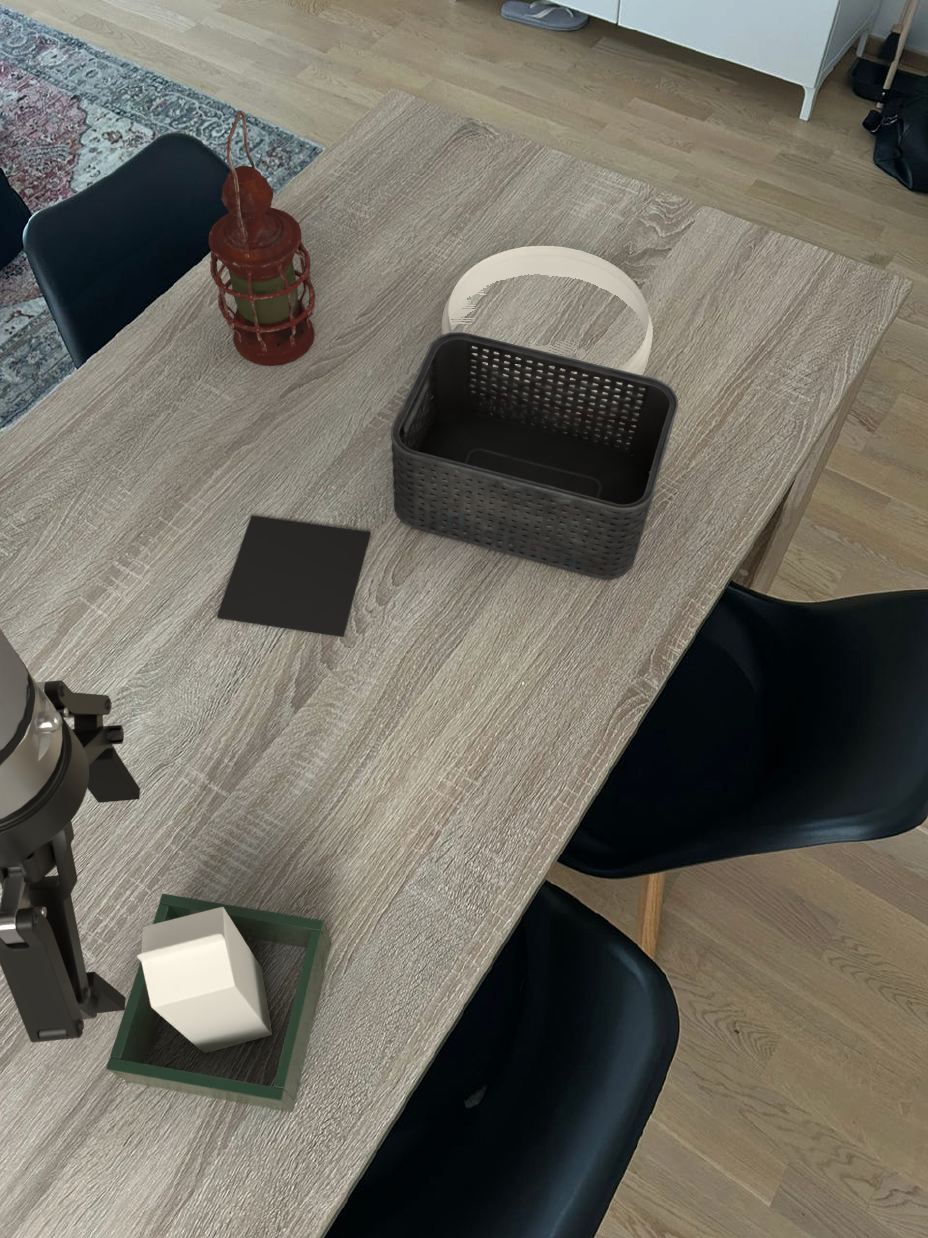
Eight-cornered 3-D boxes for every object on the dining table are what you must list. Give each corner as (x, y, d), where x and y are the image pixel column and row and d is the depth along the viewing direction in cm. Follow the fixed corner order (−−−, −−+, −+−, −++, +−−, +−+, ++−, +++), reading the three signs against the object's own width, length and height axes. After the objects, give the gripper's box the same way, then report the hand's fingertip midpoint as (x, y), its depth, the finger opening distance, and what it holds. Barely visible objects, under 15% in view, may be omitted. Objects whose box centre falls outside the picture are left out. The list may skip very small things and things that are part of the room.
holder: (128, 1082, 88) (105, 1069, 82) (179, 916, 96) (162, 893, 90) (292, 1112, 87) (281, 1101, 81) (331, 942, 95) (323, 920, 89)
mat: (217, 618, 113) (216, 616, 113) (252, 517, 120) (251, 514, 120) (343, 637, 112) (343, 635, 112) (370, 533, 119) (370, 531, 119)
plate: (423, 404, 130) (422, 372, 125) (461, 263, 144) (462, 229, 139) (638, 435, 128) (646, 404, 123) (656, 288, 142) (663, 255, 137)
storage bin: (663, 462, 125) (685, 382, 114) (627, 589, 116) (647, 515, 104) (438, 407, 130) (437, 324, 118) (385, 525, 120) (379, 447, 109)
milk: (272, 1035, 91) (228, 977, 72) (203, 1054, 90) (139, 1001, 71) (261, 966, 94) (216, 892, 75) (193, 983, 93) (131, 914, 74)
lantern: (238, 302, 139) (190, 86, 114) (328, 308, 139) (300, 93, 113) (218, 367, 133) (163, 153, 107) (312, 374, 132) (279, 162, 107)
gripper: (36, 1030, 42) (160, 1101, 60) (91, 535, 55) (179, 715, 73) (-156, 1049, 42) (27, 1116, 60) (-54, 545, 55) (70, 724, 73)
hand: (111, 895), depth 66 cm, fingers open, 13 cm apart
